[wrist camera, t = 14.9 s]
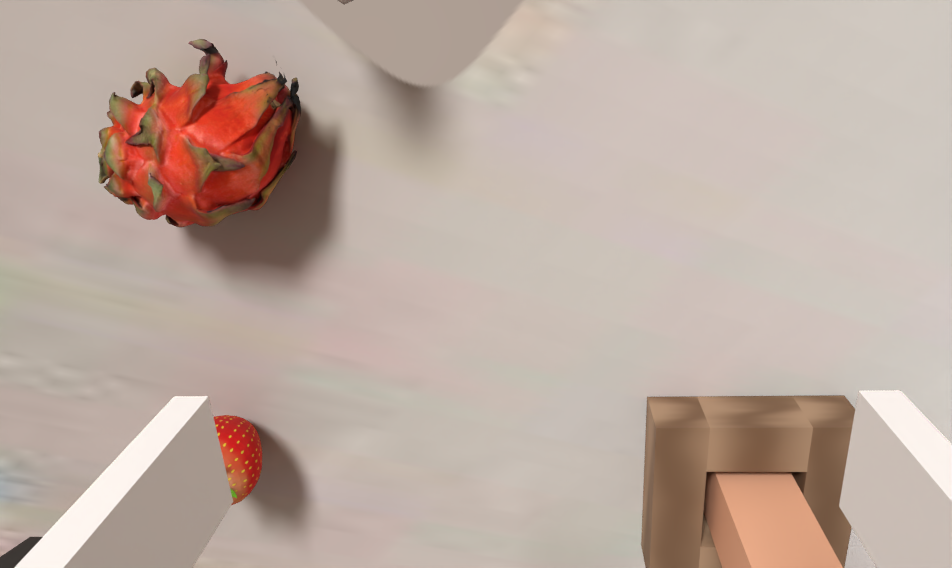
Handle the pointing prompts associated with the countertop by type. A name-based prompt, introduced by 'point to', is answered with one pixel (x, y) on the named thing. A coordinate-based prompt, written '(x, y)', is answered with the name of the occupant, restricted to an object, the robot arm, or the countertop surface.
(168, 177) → the dragon fruit
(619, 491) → the countertop surface
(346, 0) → the flask
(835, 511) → the socket
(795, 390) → the countertop surface
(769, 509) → the peg
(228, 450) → the fruit
